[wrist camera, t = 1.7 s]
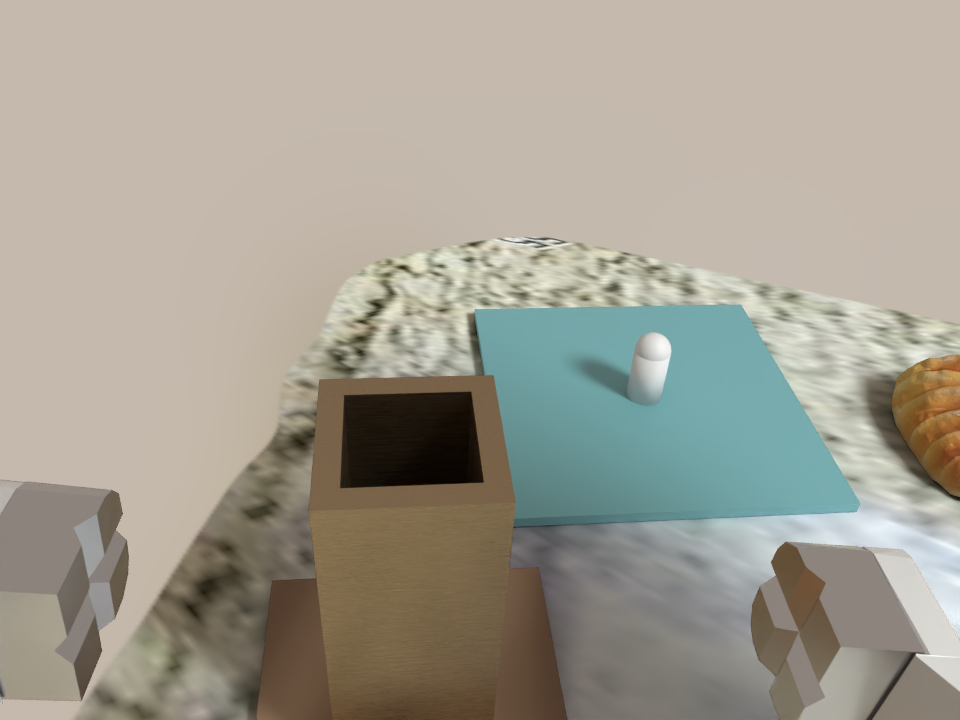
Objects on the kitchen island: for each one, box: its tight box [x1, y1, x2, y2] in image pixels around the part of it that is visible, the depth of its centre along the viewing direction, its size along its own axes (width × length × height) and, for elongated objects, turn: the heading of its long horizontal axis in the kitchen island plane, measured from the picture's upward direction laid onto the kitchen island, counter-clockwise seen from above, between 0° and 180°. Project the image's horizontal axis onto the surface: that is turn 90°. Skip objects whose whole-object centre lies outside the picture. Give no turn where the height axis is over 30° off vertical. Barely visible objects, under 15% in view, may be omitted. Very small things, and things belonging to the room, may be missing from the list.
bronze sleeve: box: [309, 375, 516, 720], centre depth 30 cm, size 6×6×14 cm
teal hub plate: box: [474, 305, 860, 527], centre depth 48 cm, size 18×18×5 cm
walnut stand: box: [256, 568, 567, 720], centre depth 33 cm, size 12×12×6 cm
